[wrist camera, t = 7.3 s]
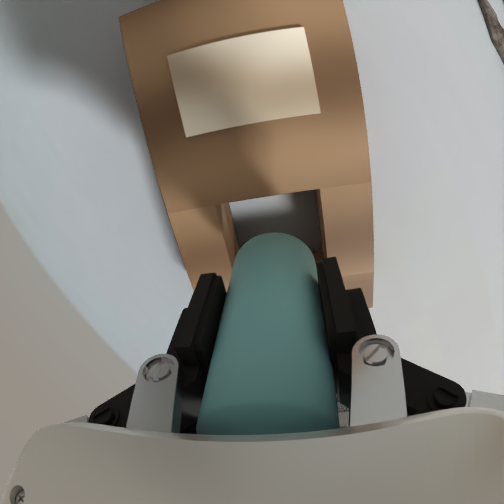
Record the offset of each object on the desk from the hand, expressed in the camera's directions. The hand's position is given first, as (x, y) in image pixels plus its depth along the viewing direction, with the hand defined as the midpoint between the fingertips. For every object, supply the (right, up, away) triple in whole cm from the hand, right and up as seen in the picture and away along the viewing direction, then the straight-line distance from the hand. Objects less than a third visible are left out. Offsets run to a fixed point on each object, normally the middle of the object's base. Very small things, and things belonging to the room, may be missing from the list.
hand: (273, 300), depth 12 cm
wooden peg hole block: (0, +7, +5) cm, 9 cm away
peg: (0, +1, +2) cm, 2 cm away
